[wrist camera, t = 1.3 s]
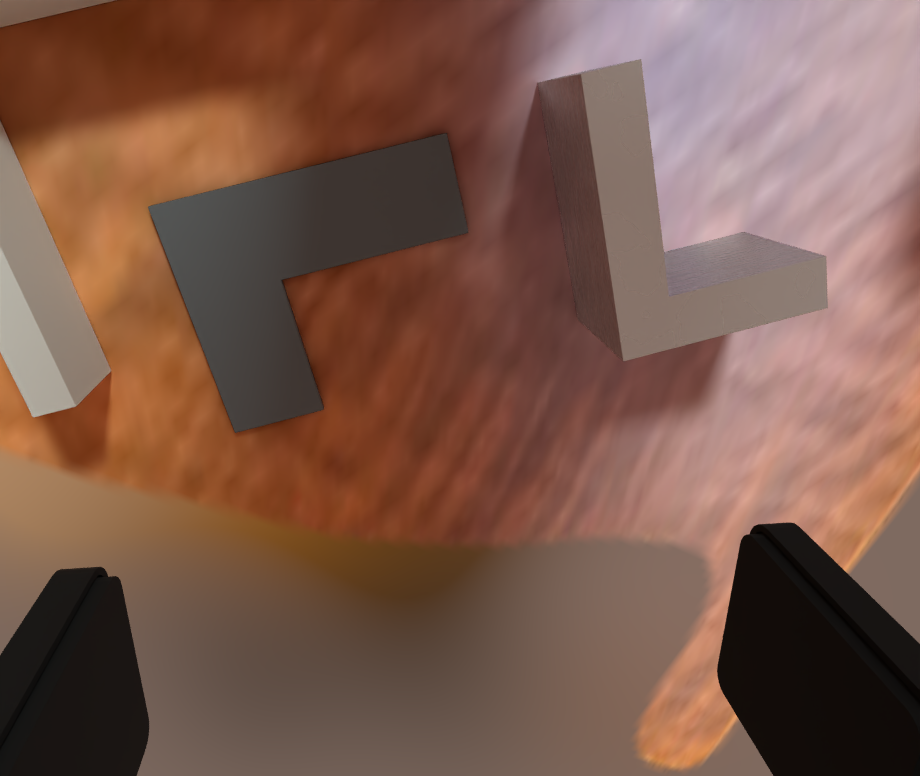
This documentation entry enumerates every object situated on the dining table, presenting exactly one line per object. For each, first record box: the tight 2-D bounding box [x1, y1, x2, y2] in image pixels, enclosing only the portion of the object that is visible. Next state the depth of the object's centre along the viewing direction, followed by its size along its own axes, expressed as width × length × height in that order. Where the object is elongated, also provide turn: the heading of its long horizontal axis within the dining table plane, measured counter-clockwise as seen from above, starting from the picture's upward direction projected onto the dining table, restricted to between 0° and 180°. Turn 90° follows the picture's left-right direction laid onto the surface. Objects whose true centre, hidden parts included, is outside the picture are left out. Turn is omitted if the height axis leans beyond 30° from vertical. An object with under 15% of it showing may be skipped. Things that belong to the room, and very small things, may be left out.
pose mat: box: [148, 133, 469, 433], centre depth 30 cm, size 12×10×1 cm
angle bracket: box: [538, 59, 828, 361], centre depth 27 cm, size 10×8×6 cm
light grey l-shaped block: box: [0, 0, 115, 417], centre depth 26 cm, size 20×15×4 cm
